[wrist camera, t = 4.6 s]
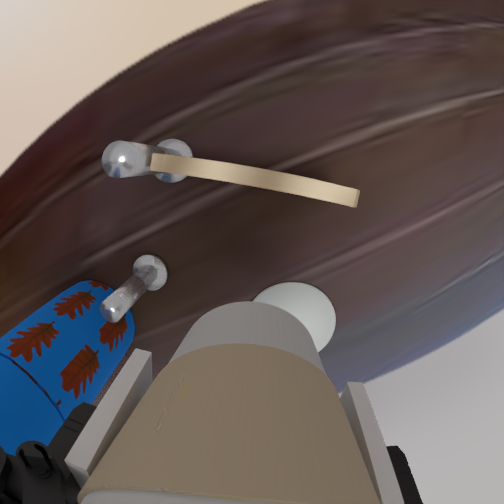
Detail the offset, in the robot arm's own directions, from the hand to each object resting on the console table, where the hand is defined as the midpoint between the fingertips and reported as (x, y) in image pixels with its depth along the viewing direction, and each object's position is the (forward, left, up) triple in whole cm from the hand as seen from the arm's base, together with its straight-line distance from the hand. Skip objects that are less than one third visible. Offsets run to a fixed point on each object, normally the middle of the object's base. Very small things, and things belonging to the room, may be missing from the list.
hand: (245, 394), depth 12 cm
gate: (-2, +9, -19) cm, 21 cm away
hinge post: (-10, +9, -20) cm, 24 cm away
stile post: (-11, -3, -20) cm, 23 cm away
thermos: (-18, -11, -20) cm, 29 cm away
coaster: (+5, -6, -20) cm, 21 cm away
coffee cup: (0, 0, -3) cm, 3 cm away
